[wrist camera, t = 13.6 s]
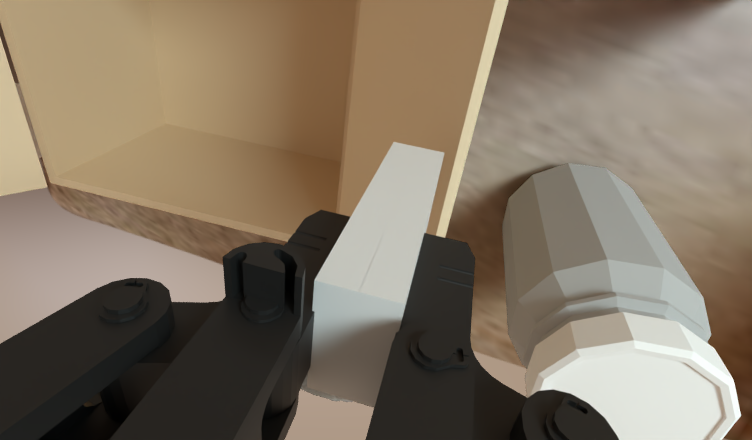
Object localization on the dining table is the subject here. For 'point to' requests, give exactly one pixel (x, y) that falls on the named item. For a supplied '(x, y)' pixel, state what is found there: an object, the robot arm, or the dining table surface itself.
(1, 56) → the back flap
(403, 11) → the front flap
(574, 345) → the jar
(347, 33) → the carton
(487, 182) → the dining table surface
